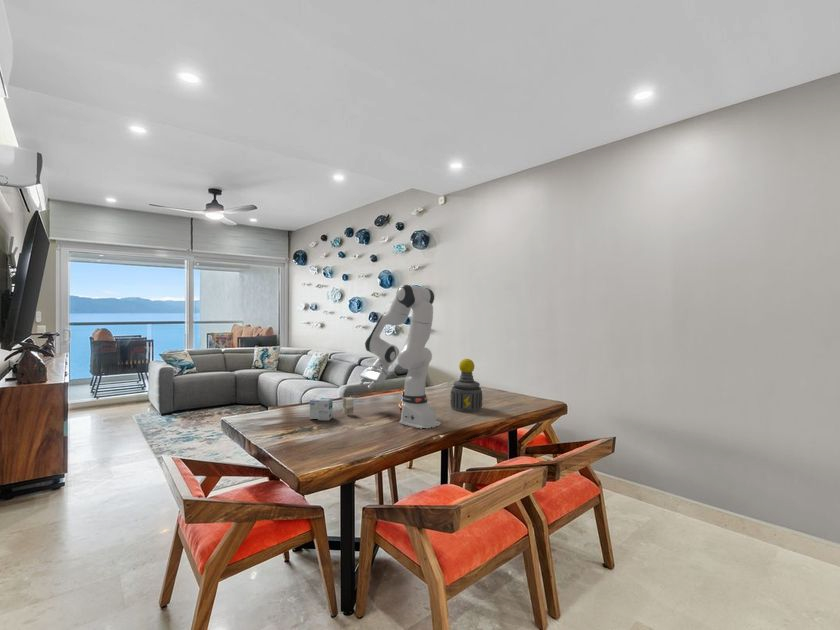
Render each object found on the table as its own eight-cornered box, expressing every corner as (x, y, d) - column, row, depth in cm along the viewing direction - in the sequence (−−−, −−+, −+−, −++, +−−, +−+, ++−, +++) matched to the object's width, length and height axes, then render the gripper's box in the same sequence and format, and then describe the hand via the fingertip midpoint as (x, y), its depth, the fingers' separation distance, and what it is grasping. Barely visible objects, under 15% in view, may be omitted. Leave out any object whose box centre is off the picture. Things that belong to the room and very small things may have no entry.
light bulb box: (332, 417, 227) (333, 397, 226) (329, 420, 220) (329, 400, 220) (313, 416, 228) (313, 396, 227) (309, 420, 221) (309, 399, 221)
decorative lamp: (449, 404, 261) (450, 356, 260) (480, 405, 260) (481, 357, 260) (450, 412, 242) (451, 360, 242) (483, 413, 241) (484, 360, 241)
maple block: (353, 414, 233) (353, 398, 233) (346, 415, 230) (347, 399, 230) (349, 412, 237) (349, 397, 237) (342, 413, 234) (342, 397, 234)
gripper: (366, 362, 252) (351, 380, 247) (385, 367, 236) (370, 386, 230) (372, 369, 255) (358, 387, 249) (391, 374, 239) (376, 393, 233)
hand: (364, 386), depth 240 cm, fingers open, 8 cm apart
